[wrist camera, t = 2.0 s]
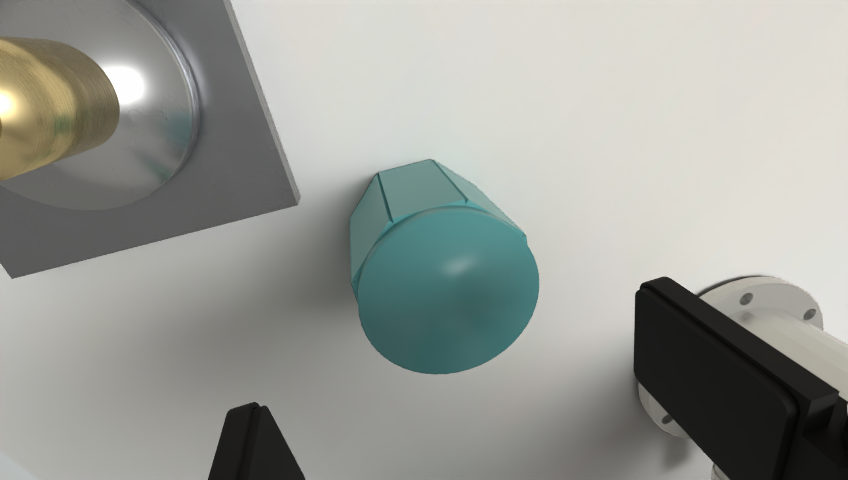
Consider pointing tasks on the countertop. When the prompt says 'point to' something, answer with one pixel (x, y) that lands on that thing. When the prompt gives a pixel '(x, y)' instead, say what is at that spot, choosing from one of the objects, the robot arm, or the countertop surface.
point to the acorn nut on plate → (128, 128)
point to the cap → (438, 270)
